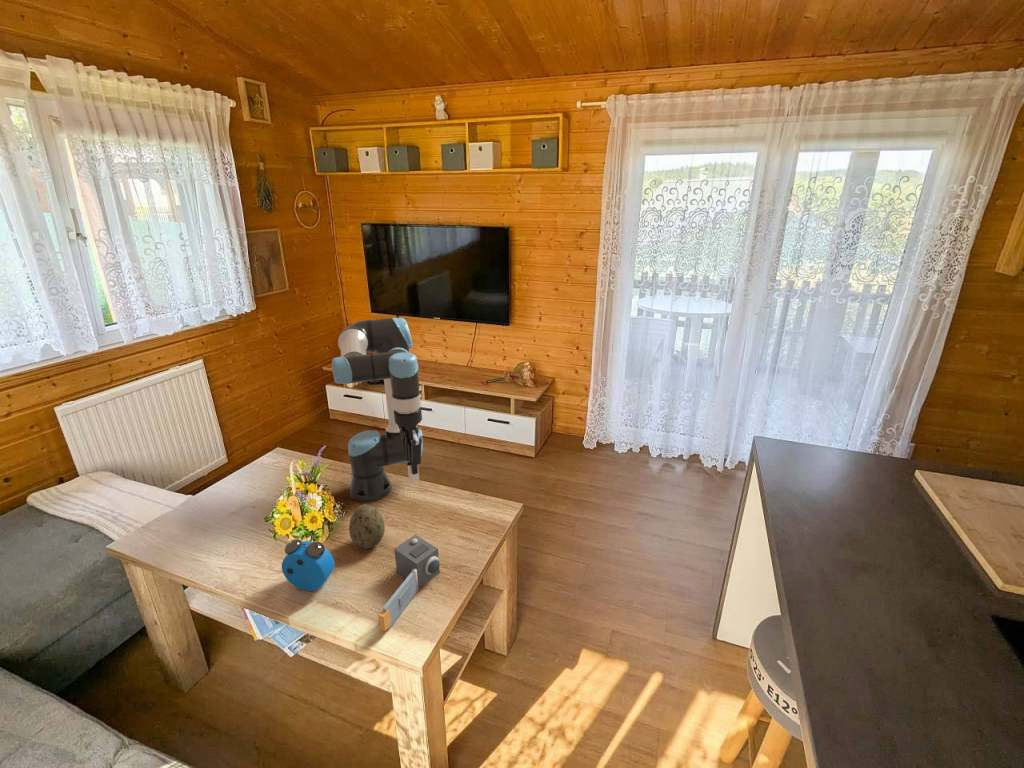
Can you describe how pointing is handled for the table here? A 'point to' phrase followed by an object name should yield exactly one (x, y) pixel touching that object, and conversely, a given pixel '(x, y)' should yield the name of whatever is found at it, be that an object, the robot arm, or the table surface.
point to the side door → (399, 601)
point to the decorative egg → (366, 526)
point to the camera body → (417, 559)
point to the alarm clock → (307, 564)
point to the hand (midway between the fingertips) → (414, 481)
